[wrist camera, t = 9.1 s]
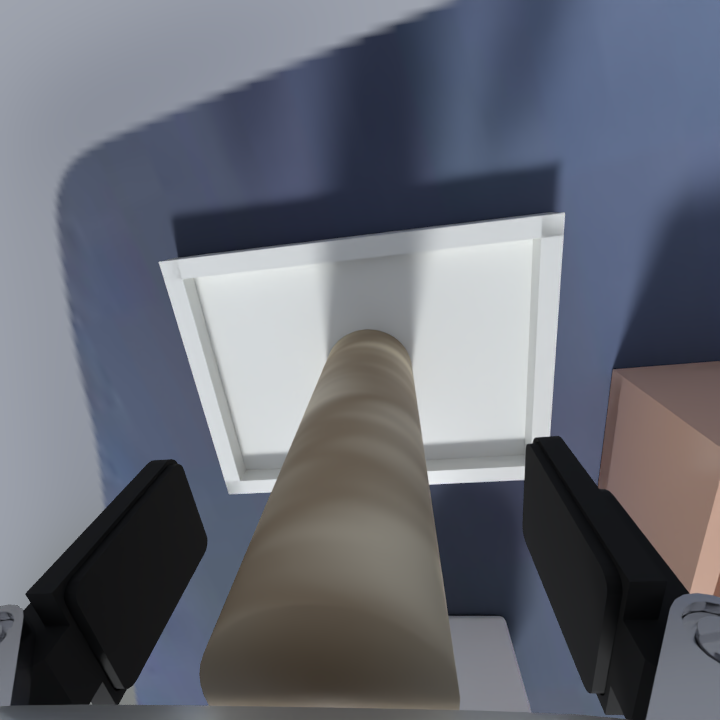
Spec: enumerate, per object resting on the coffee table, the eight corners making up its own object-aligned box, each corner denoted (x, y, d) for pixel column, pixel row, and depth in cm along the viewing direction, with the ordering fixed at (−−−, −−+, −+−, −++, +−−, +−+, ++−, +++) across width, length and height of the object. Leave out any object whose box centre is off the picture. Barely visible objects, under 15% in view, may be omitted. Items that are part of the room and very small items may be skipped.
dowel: (408, 325, 17) (456, 602, 5) (414, 405, 18) (463, 772, 6) (320, 333, 18) (166, 606, 5) (332, 411, 19) (233, 765, 7)
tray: (549, 212, 16) (564, 212, 14) (535, 459, 20) (547, 478, 18) (177, 257, 17) (158, 261, 16) (239, 475, 22) (229, 494, 20)
